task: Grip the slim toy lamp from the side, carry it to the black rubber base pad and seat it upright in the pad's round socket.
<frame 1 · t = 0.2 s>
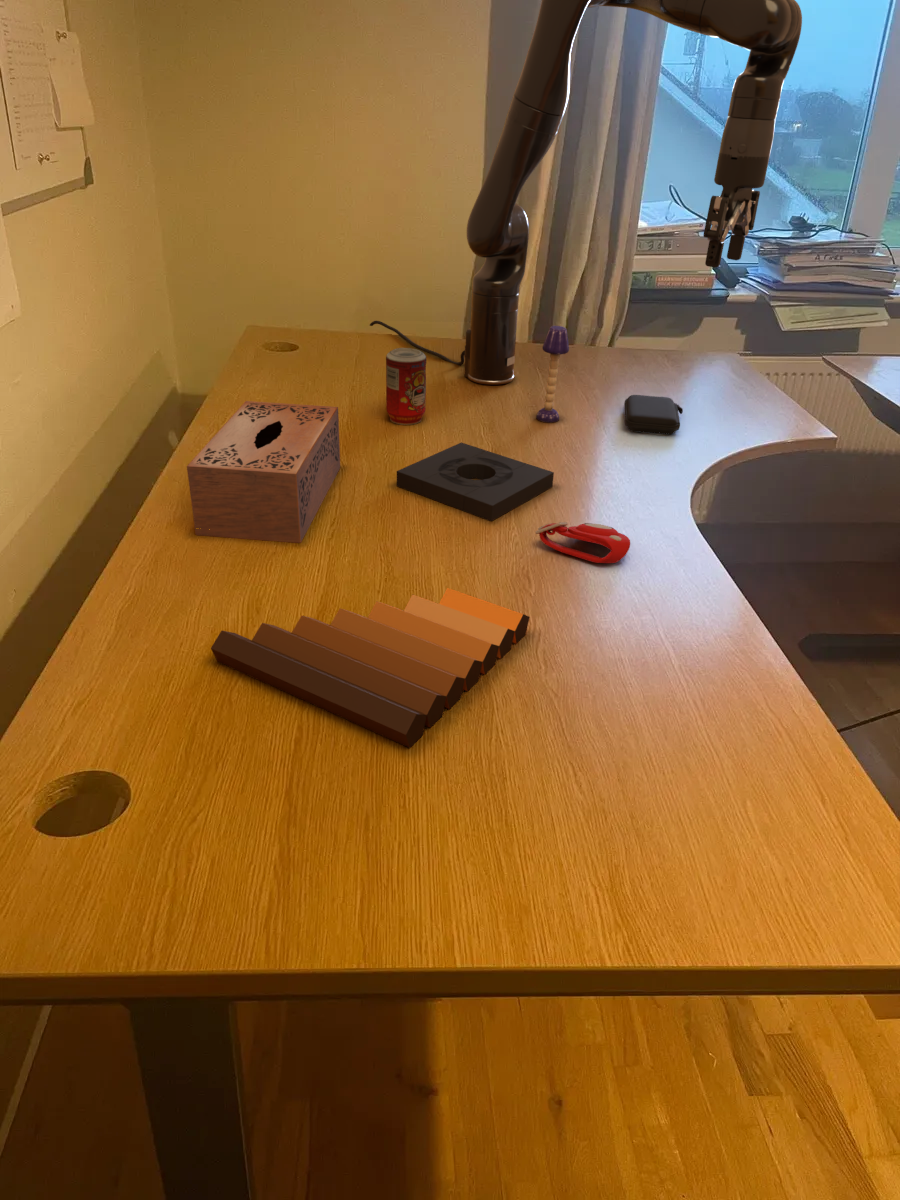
hand: (722, 263, 144), 29 cm above the table, tool pointing down, fingers open, 8 cm apart
toy lamp: (548, 420, 163), on the table
soda can: (405, 420, 161), on the table
brown ridged flat slab: (376, 649, 99), on the table
tissue box cover: (273, 499, 131), on the table
carrying case: (652, 423, 163), on the table
socket pad: (475, 486, 136), on the table
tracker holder: (583, 548, 121), on the table
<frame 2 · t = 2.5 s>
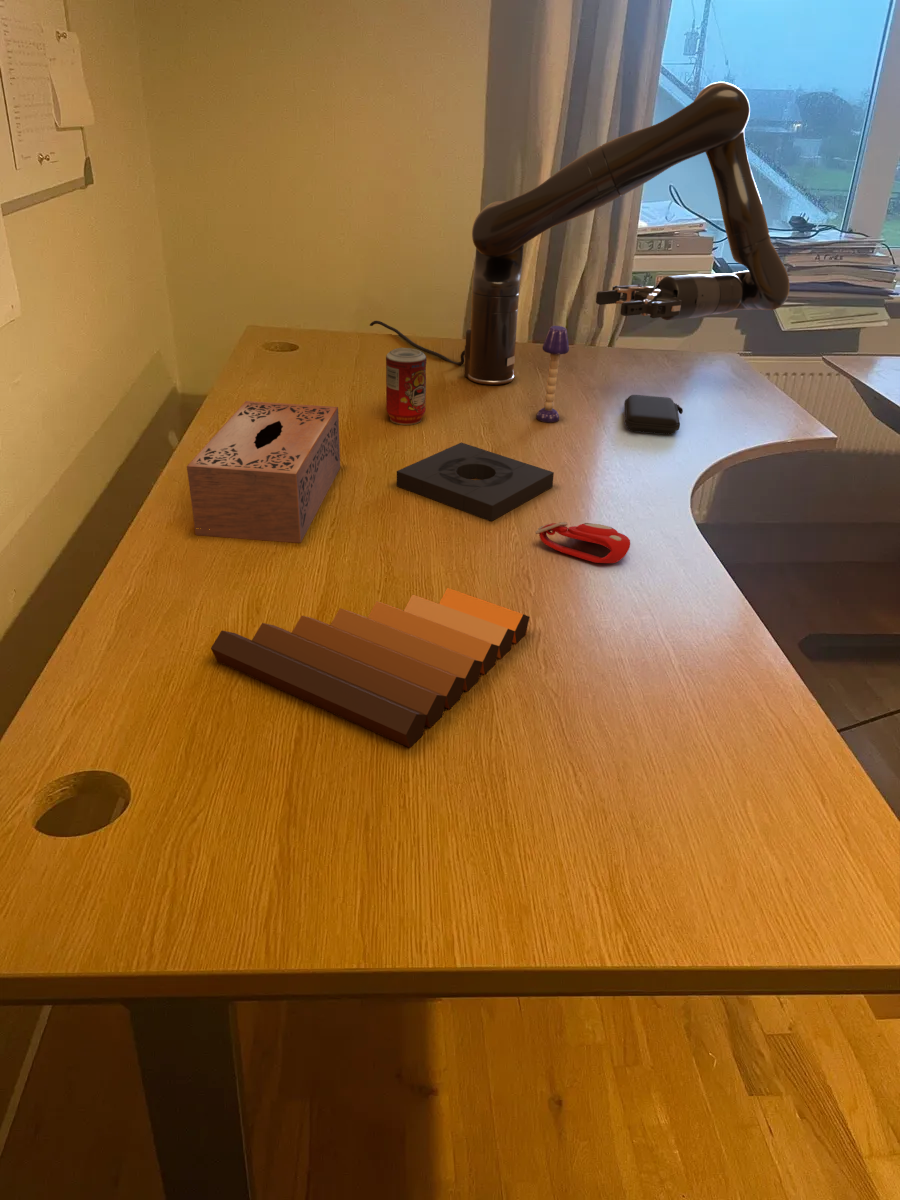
hand: (609, 303, 156), 20 cm above the table, tool horizontal, fingers open, 8 cm apart
nothing on the table moved.
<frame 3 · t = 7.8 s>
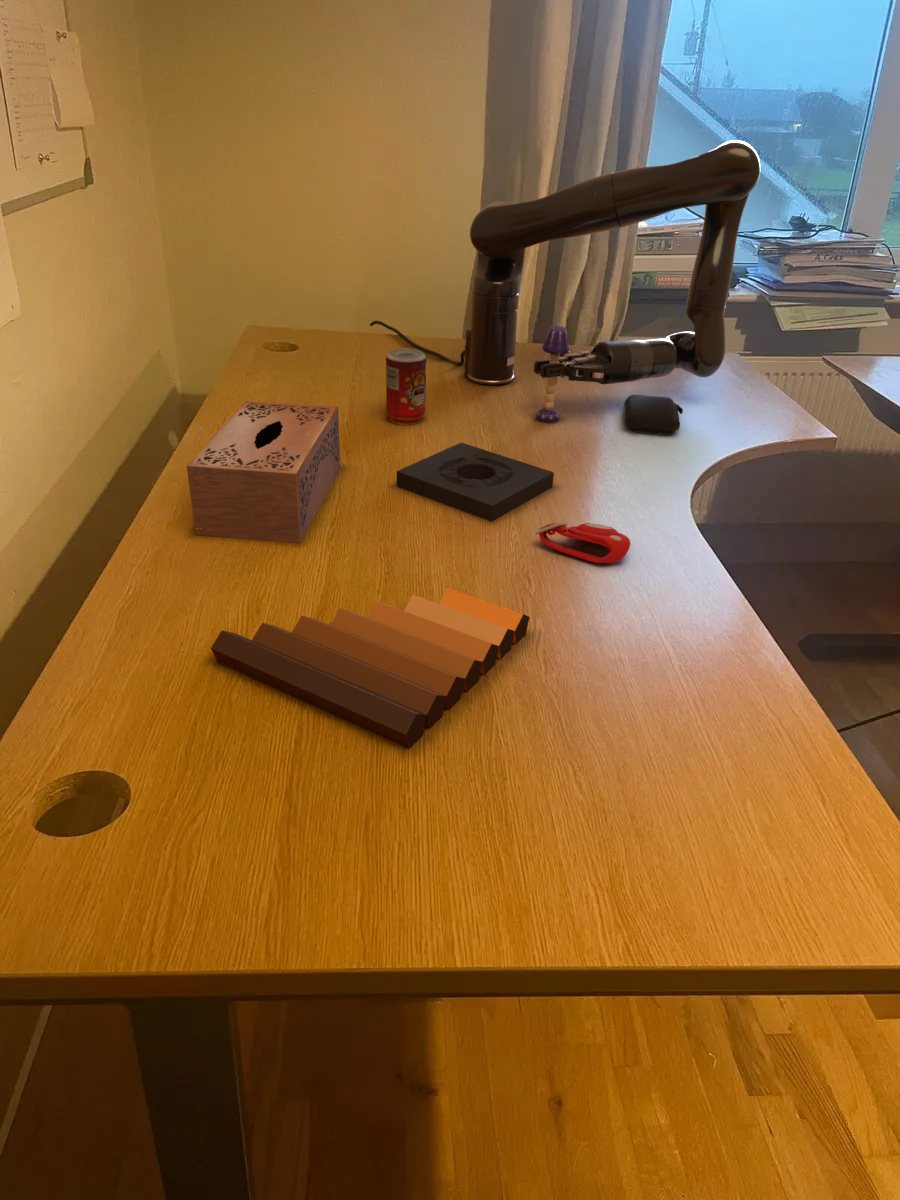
hand: (538, 369, 157), 10 cm above the table, tool horizontal, fingers closed on toy lamp
toy lamp: (548, 420, 163), on the table, touching gripper
everything else where it was.
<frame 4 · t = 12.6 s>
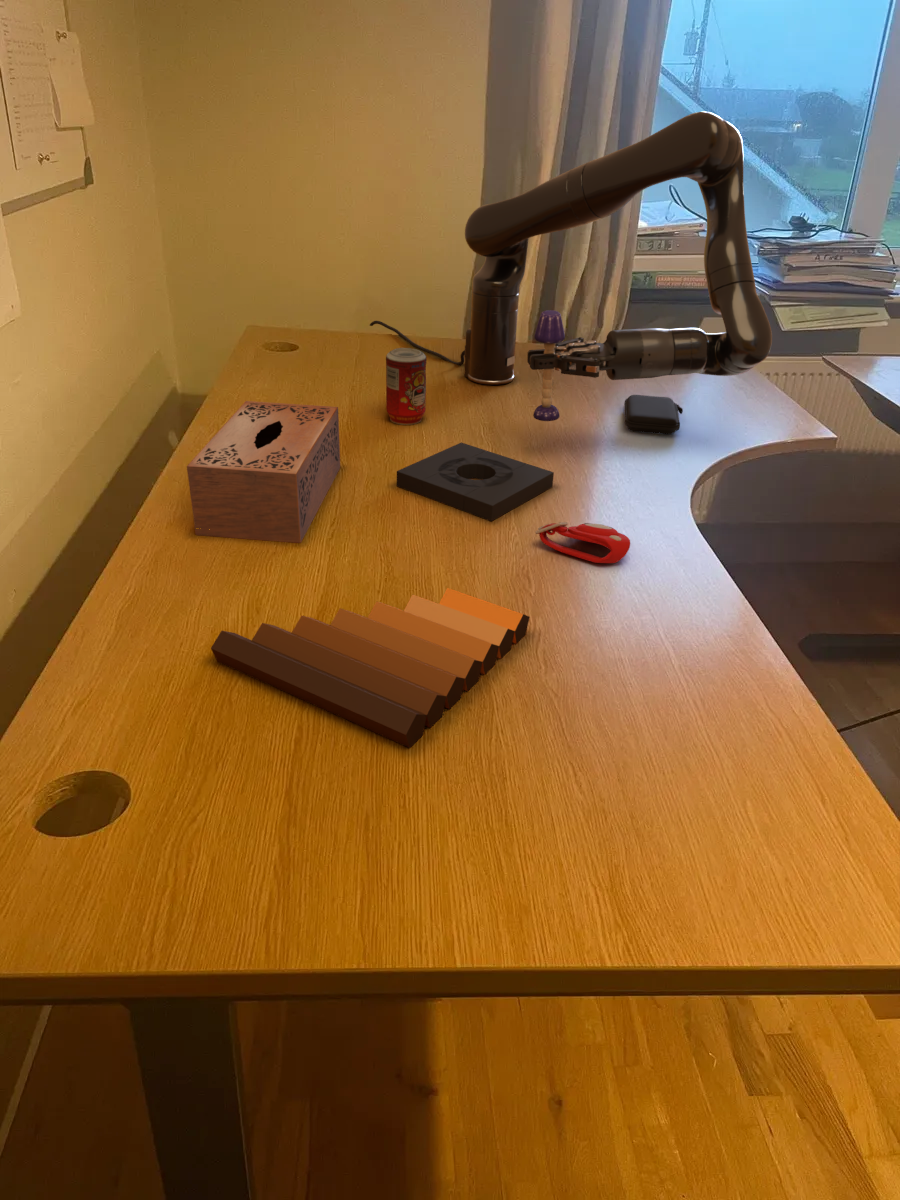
hand: (529, 360, 138), 16 cm above the table, tool horizontal, fingers closed on toy lamp
toy lamp: (546, 418, 143), point 7 cm above the table, touching gripper
everything else where it was.
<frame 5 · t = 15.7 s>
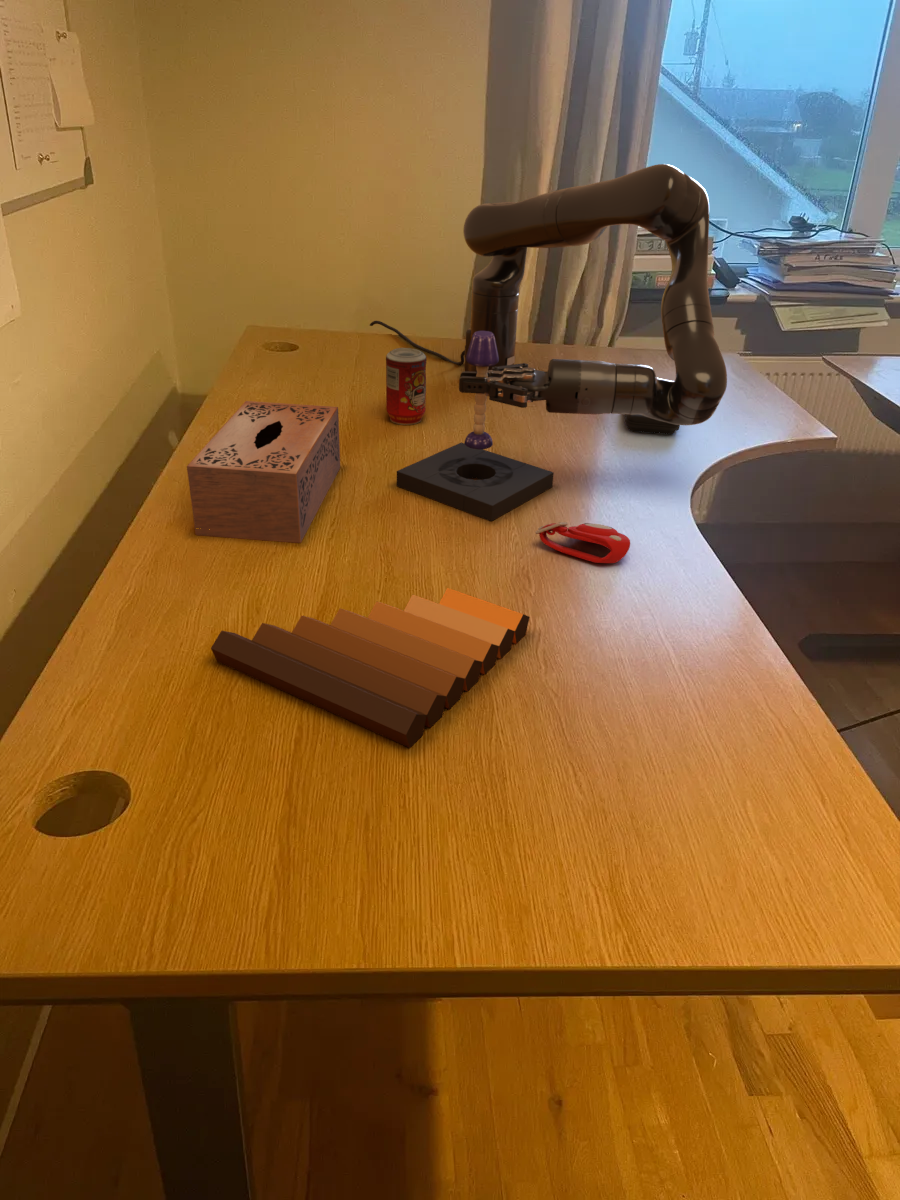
hand: (460, 381, 128), 16 cm above the table, tool horizontal, fingers closed on toy lamp
toy lamp: (478, 446, 133), point 7 cm above the table, touching gripper
everything else where it was.
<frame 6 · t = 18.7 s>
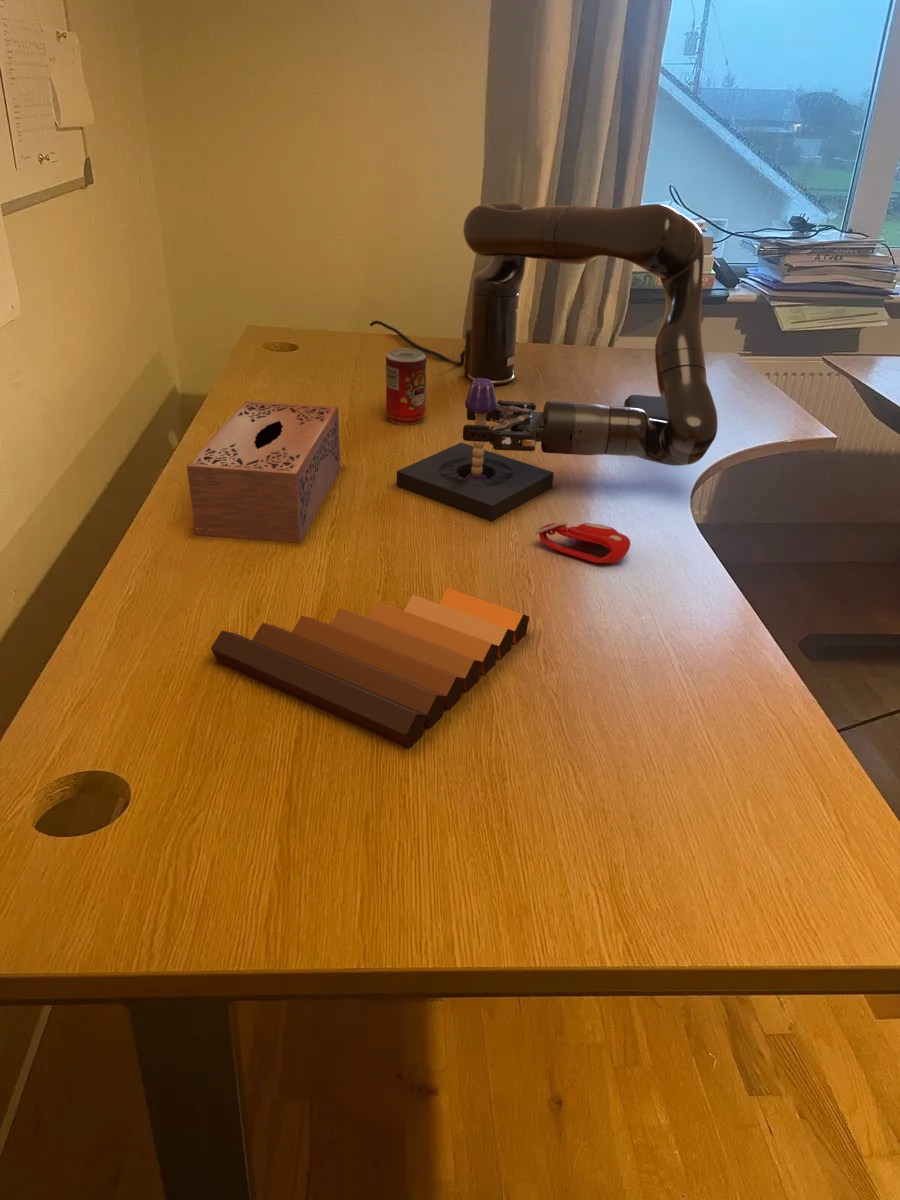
hand: (465, 422, 131), 10 cm above the table, tool horizontal, fingers open, 8 cm apart
toy lamp: (476, 487, 137), resting in socket pad
everything else where it was.
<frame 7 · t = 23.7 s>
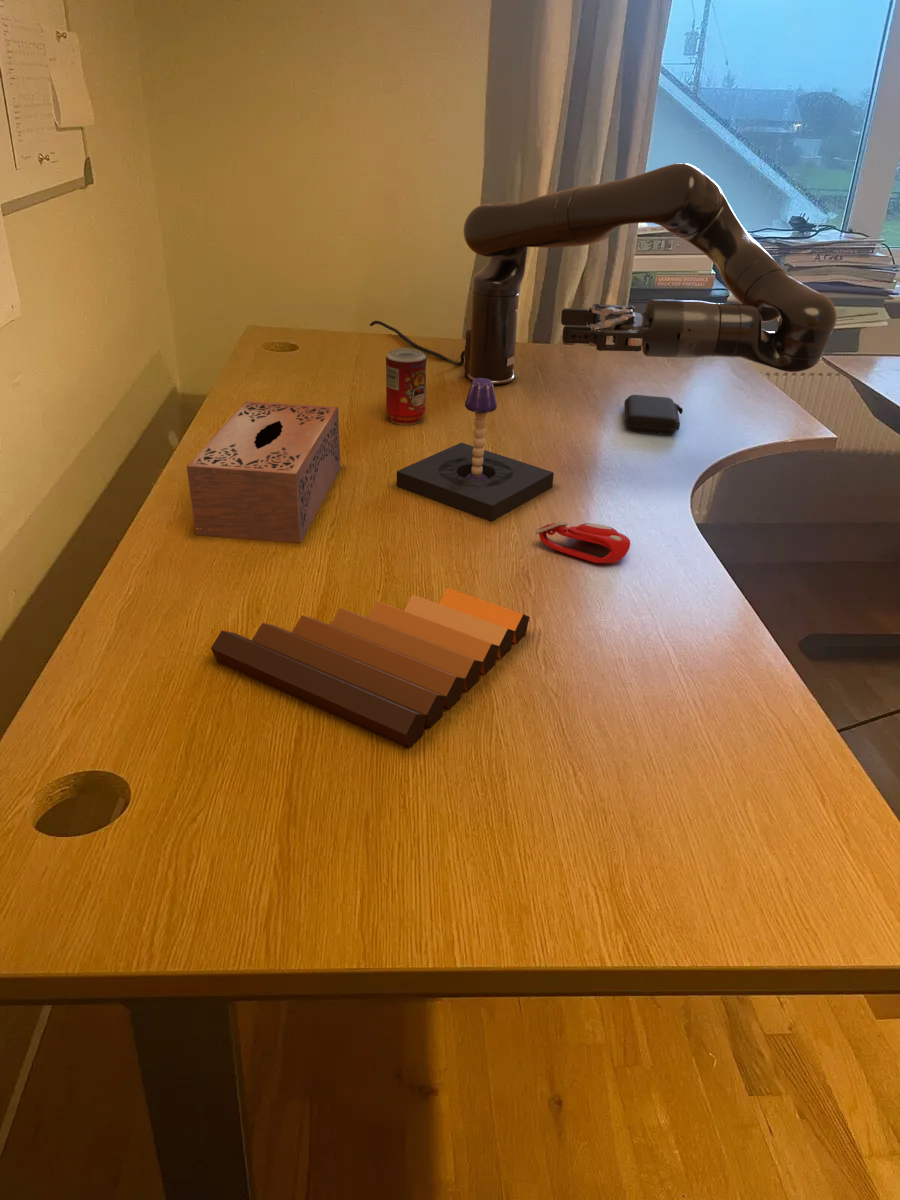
hand: (562, 325, 123), 25 cm above the table, tool horizontal, fingers open, 8 cm apart
nothing on the table moved.
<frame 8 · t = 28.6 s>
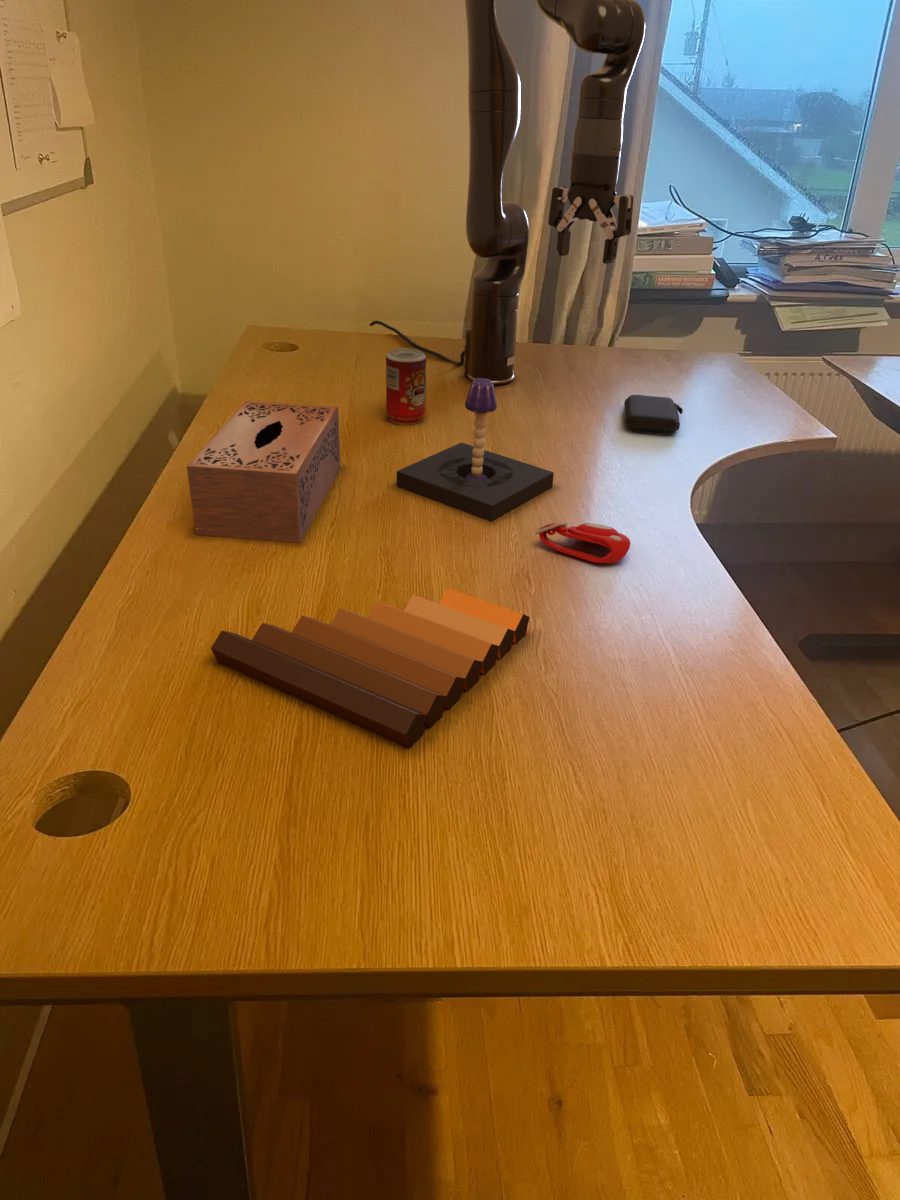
hand: (585, 259, 148), 28 cm above the table, tool pointing down, fingers open, 8 cm apart
nothing on the table moved.
at the end: toy lamp 0.2 cm off-centre in the socket pad, point 0.0 cm above the socket pad's base; toy lamp tilted 0°; the gripper is holding nothing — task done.
